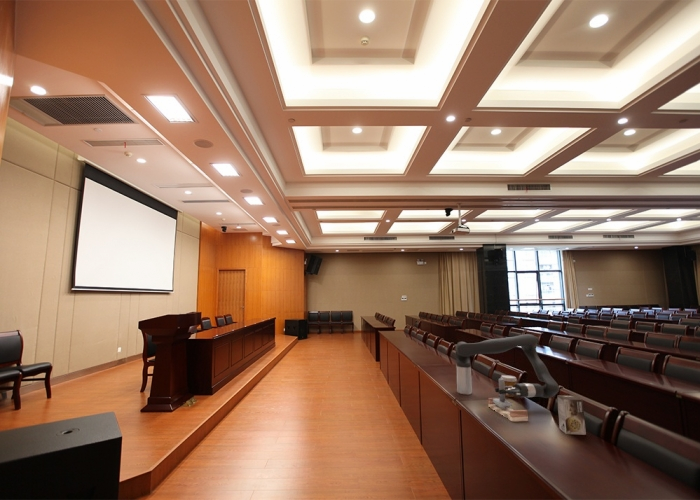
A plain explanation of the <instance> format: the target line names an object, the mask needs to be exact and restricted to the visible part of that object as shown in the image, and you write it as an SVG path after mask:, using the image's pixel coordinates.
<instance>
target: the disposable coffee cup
mask: <svg viewBox="0 0 700 500" xmlns="http://www.w3.org/2000/svg"><path fill="white" fill-rule="evenodd" d="M500 379H504V384H505V385H507V386H514V385H515V384H516V383H517V377H516V376H514V375H506V374H503V375H502V374H501V376H500ZM505 397H508V398H509V397H511V398H515V397H516V396H511V395H509V394H508V395H507V394H505Z"/></svg>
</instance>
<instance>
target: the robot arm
mask: <svg viewBox="0 0 700 500" xmlns="http://www.w3.org/2000/svg"><path fill="white" fill-rule="evenodd" d="M537 346H538V339H537V337H536V336H535V335H534V334H530V333H526V334H521V335H516V336H510V337H502V338H490V339H486V340H483V341H480V342H474V343H473V342H472V343H470V342H469V343H467V342H465V341H458V342H457V344H456V345H455V362H456V392H457V393H458V394H460V395H468V396H469V395H472V390H473V389H472V364H471V356H475V355H489V354H491V355H492V354H500V353H501V354H502V353H504V352H507V351H509V350H512V349H514V348H518V347H521V350H522V351H523V352H524V354H525V355H526V357H527V359H528V360H529V362H530V363H531V366H532V367H533V369H534V372H535V375H536V376H537V377H536V378H537V379H538V381H540V382H542V383H545V384H543V385H541V384H540V383H537V382H536V383H528V382H522V383H518V382H516V384H515V385H514V386H507V385H505V390H499V387H495V388H494V392H496V393H498V395H499V394H507V395H508V394H509V395H511V396H515V397H518V398H533V397H539V398H544V399H550V398H551V399H552V398H554V397H555V396H556V395H558V394H559V391H560V387H559V384H558V383H557V381H556V380H555V379H554V378H553V376H551V374H550V372H549V370H548V368H547V366H546V364H545V363H544V361H542V359H540V357H539V354H538V352H537Z"/></svg>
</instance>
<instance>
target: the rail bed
mask: <svg viewBox="0 0 700 500" xmlns="http://www.w3.org/2000/svg"><path fill="white" fill-rule="evenodd" d="M487 399H488V404H487V405H488V406H487V407H488V408H489V407H490V408H489V409H492V410H493V411H494V410H495V412H496V413H498V414H499V415H500V416H502V415H503V417H504V418H506V419H507V418H508V419H507V420H509V421H510V422H528V421H529V417H528V415H529V414H528V410H527V409H517V410H516V409H514V408H512V406H510V407H508V406H505V409H502V408H500V407H499V406H497V405H495V403H494V402H493V399H499V397H487Z"/></svg>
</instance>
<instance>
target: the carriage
mask: <svg viewBox="0 0 700 500" xmlns="http://www.w3.org/2000/svg"><path fill="white" fill-rule="evenodd" d="M498 388H499V390H505V384H504V379H501V378H498ZM498 395H499V397H498V398H499V399H493V402H494V403H495V405H497V406H499V407H500V408H502V409H505V406H508V407H513V404H514V403H513V402H511V401H510V400H507V399H506V396H505V394H499V393H498Z"/></svg>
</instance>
